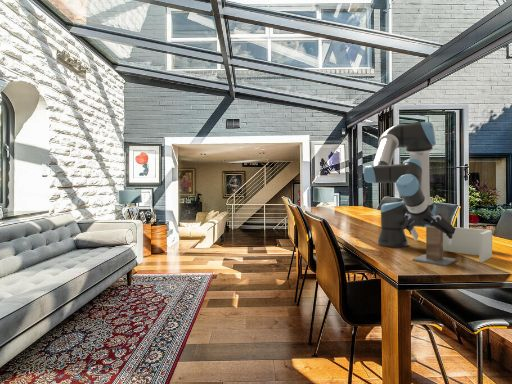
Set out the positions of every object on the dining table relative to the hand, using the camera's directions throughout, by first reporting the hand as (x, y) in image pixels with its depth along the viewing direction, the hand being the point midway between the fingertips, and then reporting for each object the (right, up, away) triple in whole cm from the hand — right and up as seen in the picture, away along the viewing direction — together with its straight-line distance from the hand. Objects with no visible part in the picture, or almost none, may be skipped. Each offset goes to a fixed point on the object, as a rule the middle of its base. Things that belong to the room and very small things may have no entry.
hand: (433, 240), depth 138 cm
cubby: (+17, -9, +10) cm, 22 cm away
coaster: (+1, -9, +2) cm, 9 cm away
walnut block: (+2, -8, +2) cm, 9 cm away
